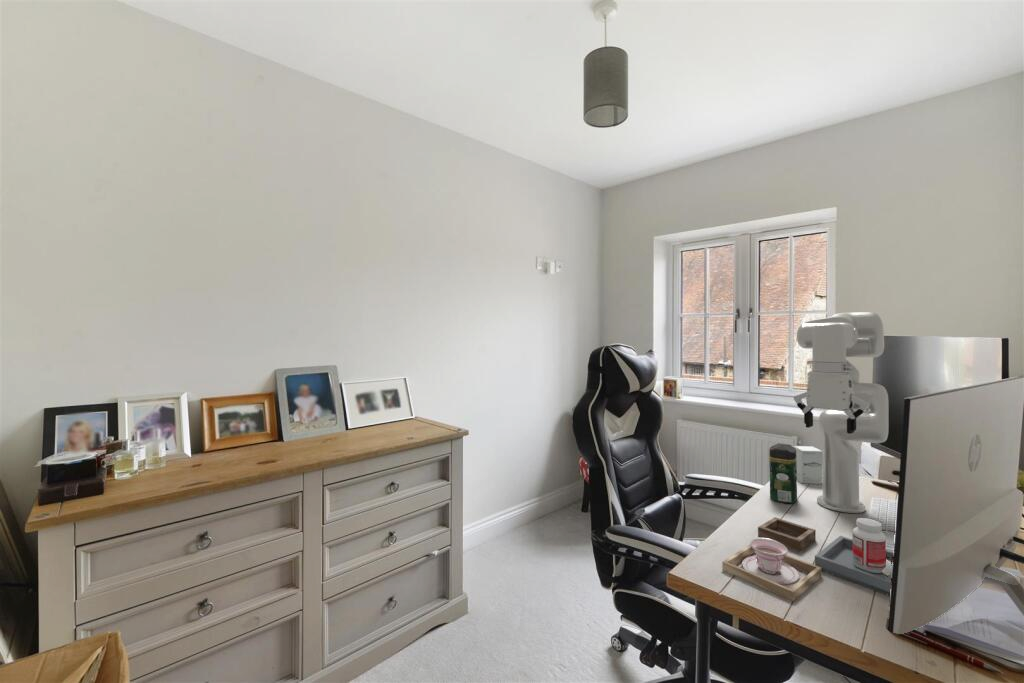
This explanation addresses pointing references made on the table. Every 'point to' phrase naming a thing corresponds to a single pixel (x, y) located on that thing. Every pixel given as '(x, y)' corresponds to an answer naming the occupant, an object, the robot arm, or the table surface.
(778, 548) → the teacup
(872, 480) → the table surface
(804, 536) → the walnut collar
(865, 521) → the pill bottle
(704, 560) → the table surface
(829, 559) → the slate tray
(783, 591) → the light wooden frame
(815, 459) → the supplement box
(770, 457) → the coffee jar
